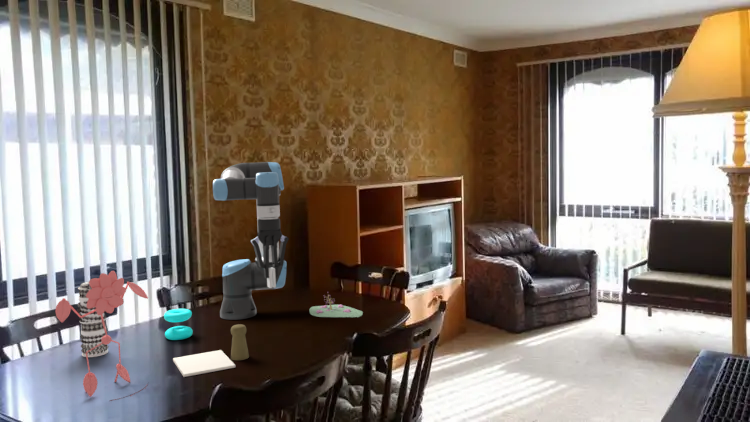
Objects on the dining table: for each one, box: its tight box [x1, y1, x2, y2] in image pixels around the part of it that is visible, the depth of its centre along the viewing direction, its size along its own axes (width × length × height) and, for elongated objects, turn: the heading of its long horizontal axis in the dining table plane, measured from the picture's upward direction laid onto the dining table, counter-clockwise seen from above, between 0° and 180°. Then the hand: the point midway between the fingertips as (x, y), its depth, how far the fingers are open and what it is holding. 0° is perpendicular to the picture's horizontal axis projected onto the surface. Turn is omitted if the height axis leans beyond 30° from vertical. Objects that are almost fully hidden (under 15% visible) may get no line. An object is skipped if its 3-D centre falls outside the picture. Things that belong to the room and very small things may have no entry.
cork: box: [230, 323, 250, 361], centre depth 204 cm, size 6×6×11 cm
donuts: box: [163, 308, 194, 341], centre depth 230 cm, size 10×10×10 cm
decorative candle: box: [76, 281, 109, 358], centre depth 212 cm, size 9×9×25 cm
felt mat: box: [172, 349, 236, 378], centre depth 199 cm, size 18×16×1 cm
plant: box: [309, 291, 364, 318], centre depth 262 cm, size 25×21×9 cm
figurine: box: [54, 270, 149, 402], centre depth 175 cm, size 15×26×35 cm, turn 143°
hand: (271, 286), depth 208 cm, fingers closed
